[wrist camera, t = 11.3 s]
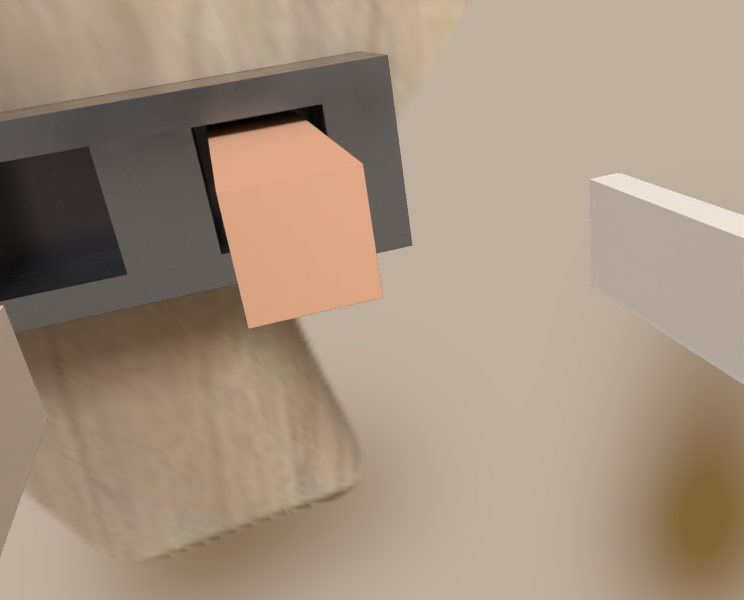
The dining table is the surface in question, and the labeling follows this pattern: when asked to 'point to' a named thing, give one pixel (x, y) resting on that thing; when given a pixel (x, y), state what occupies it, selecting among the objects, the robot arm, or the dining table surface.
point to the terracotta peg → (293, 218)
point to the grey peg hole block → (166, 183)
